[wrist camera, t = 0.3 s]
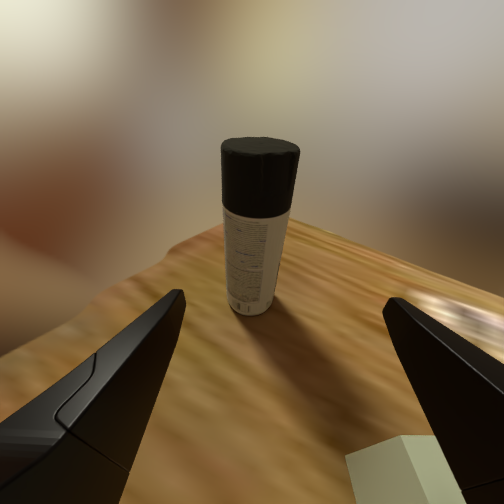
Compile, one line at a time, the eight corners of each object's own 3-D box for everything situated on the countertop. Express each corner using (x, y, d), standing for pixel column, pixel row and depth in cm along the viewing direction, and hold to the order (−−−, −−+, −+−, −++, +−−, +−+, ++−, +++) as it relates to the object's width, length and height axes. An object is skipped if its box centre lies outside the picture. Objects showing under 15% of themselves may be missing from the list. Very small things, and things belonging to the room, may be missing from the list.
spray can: (281, 307, 28) (321, 151, 15) (236, 325, 25) (238, 156, 13) (259, 275, 33) (275, 134, 20) (219, 288, 30) (208, 136, 17)
